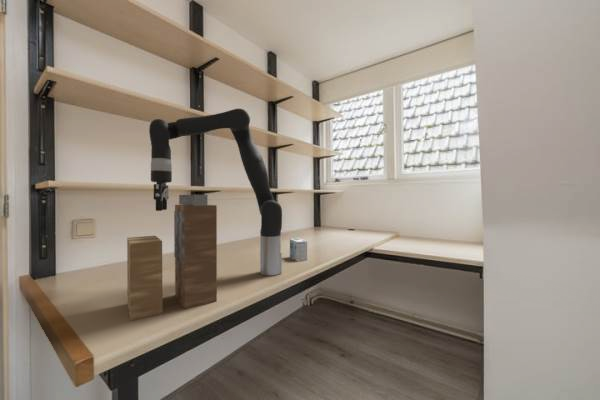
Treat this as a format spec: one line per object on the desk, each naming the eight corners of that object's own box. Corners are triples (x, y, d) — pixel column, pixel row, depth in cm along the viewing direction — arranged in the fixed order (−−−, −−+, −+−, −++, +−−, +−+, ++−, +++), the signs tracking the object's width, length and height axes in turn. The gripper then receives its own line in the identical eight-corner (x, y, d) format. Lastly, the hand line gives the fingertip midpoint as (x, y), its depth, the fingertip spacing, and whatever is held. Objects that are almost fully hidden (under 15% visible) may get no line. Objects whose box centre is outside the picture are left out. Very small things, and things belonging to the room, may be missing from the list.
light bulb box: (289, 257, 150) (289, 238, 149) (299, 256, 152) (300, 237, 152) (296, 261, 140) (296, 241, 140) (307, 260, 142) (307, 240, 142)
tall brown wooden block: (173, 295, 91) (173, 204, 91) (204, 289, 97) (204, 204, 97) (182, 309, 80) (182, 205, 79) (216, 301, 86) (216, 205, 86)
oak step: (127, 303, 84) (127, 237, 83) (155, 298, 88) (155, 235, 88) (130, 320, 72) (130, 244, 72) (162, 312, 77) (162, 241, 77)
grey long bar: (179, 204, 99) (179, 195, 99) (190, 203, 101) (190, 195, 101) (194, 205, 81) (194, 194, 81) (207, 205, 84) (207, 194, 84)
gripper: (167, 168, 99) (168, 211, 99) (174, 172, 113) (174, 209, 113) (145, 168, 97) (146, 211, 97) (155, 171, 111) (155, 209, 111)
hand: (161, 210), depth 105 cm, fingers open, 8 cm apart
